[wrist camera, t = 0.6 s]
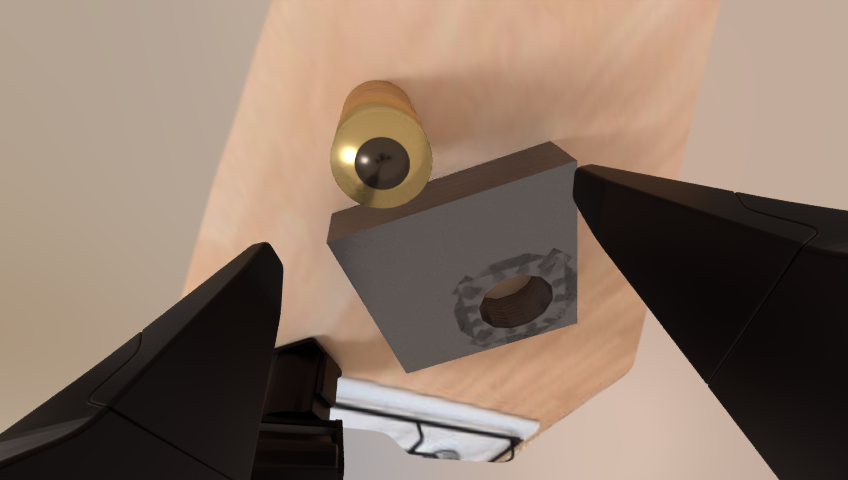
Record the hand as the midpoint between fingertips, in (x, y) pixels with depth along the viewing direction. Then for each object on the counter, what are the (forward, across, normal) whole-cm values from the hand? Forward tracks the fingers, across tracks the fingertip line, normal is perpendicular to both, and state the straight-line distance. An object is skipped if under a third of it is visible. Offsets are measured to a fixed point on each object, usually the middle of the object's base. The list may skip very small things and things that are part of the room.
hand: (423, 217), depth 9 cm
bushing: (+13, +1, 0) cm, 13 cm away
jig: (+12, -2, +13) cm, 18 cm away
